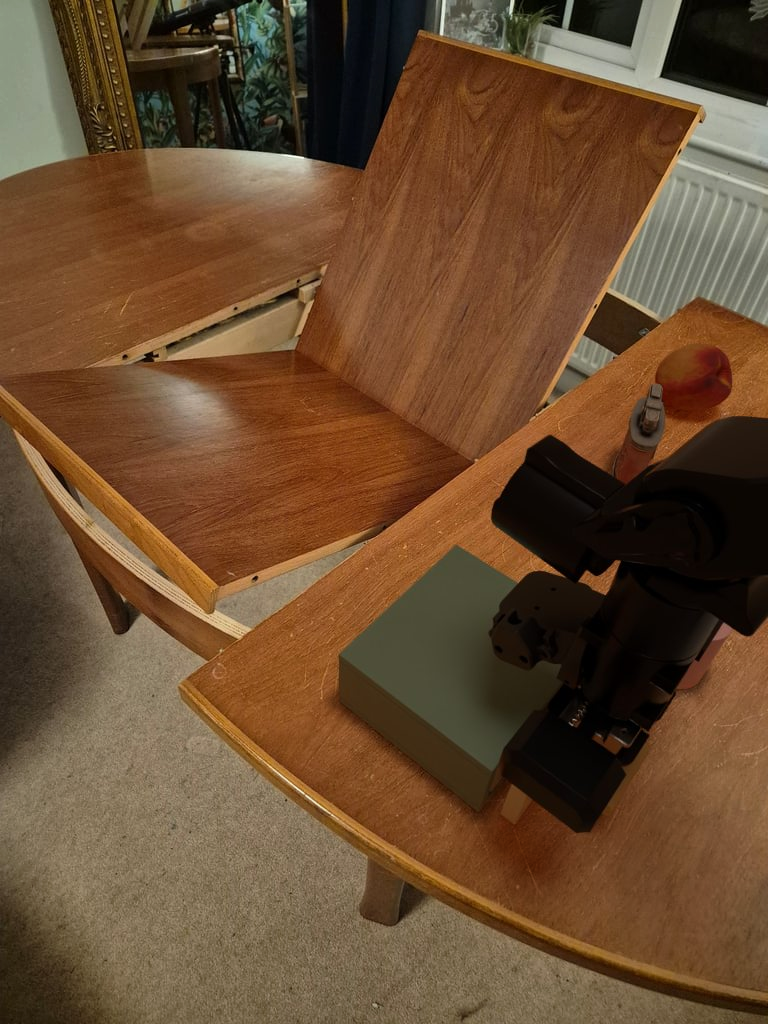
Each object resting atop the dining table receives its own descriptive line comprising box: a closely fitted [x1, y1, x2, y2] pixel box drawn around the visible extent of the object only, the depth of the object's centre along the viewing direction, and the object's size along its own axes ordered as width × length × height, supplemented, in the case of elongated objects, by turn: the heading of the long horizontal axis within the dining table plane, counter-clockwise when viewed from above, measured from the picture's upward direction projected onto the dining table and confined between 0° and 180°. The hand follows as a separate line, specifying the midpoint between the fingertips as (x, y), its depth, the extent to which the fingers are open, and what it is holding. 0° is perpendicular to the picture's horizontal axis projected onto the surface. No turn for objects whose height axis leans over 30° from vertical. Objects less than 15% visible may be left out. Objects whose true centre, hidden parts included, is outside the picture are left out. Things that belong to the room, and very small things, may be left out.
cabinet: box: [338, 544, 563, 813], centre depth 58 cm, size 14×15×7 cm
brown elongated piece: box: [610, 382, 666, 485], centre depth 76 cm, size 8×3×10 cm, turn 161°
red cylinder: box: [676, 623, 734, 690], centre depth 60 cm, size 5×5×7 cm
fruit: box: [654, 343, 733, 413], centre depth 86 cm, size 8×8×8 cm
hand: (586, 749), depth 53 cm, fingers closed, pressing on drawer
